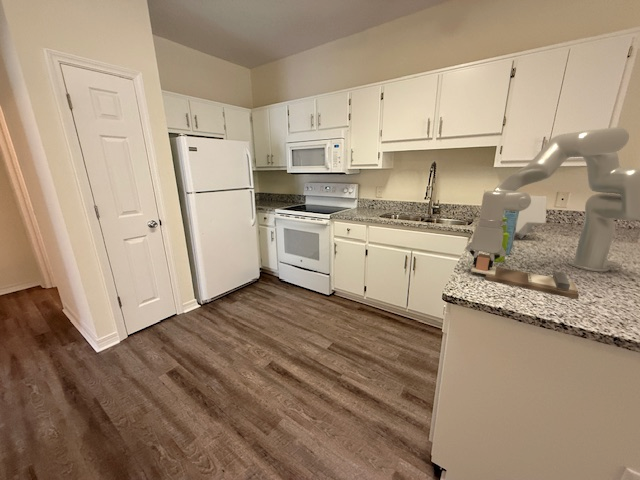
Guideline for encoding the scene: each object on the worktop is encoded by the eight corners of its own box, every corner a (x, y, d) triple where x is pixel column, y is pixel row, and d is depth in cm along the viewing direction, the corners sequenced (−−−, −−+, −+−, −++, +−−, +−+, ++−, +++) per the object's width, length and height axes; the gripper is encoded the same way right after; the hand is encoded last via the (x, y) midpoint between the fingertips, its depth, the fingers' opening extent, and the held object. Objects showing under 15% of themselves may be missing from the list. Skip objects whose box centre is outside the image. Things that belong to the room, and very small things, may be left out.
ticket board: (570, 284, 97) (573, 274, 96) (577, 299, 86) (581, 287, 85) (488, 269, 111) (489, 259, 110) (485, 279, 101) (487, 269, 99)
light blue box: (508, 255, 129) (518, 209, 123) (496, 253, 132) (505, 208, 126) (512, 247, 143) (521, 205, 137) (501, 245, 146) (509, 204, 140)
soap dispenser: (500, 258, 125) (509, 216, 120) (505, 262, 119) (514, 219, 114) (486, 256, 127) (494, 216, 122) (490, 261, 121) (498, 218, 115)
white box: (504, 236, 154) (506, 195, 155) (493, 239, 169) (495, 201, 171) (545, 239, 149) (546, 196, 151) (529, 241, 165) (531, 202, 166)
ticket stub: (496, 268, 108) (498, 255, 106) (494, 276, 100) (497, 262, 99) (474, 264, 112) (476, 251, 111) (471, 271, 105) (473, 258, 103)
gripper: (516, 224, 100) (507, 269, 105) (467, 219, 109) (460, 261, 114) (516, 228, 94) (506, 275, 99) (464, 222, 103) (457, 266, 108)
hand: (482, 267), depth 106 cm, fingers closed on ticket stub, 4 cm apart
